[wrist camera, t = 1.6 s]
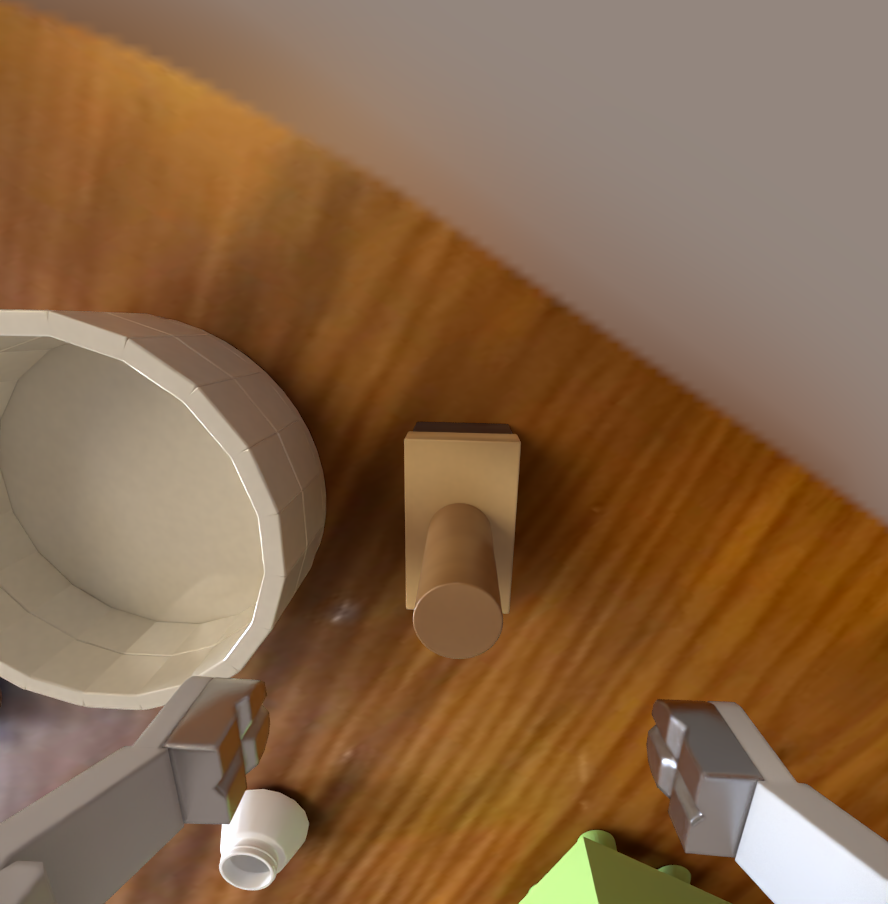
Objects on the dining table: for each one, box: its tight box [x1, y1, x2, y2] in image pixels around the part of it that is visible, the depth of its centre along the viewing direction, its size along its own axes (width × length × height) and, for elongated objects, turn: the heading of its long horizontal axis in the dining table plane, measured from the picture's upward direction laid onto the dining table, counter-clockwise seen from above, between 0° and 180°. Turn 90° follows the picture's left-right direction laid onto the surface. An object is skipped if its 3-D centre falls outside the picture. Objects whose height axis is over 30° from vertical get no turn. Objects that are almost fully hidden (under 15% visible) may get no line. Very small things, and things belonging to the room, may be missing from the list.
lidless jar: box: [219, 789, 309, 890], centre depth 25 cm, size 5×3×5 cm
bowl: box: [0, 309, 326, 710], centre depth 18 cm, size 16×16×5 cm
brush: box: [404, 422, 521, 659], centre depth 15 cm, size 7×4×9 cm, turn 179°
